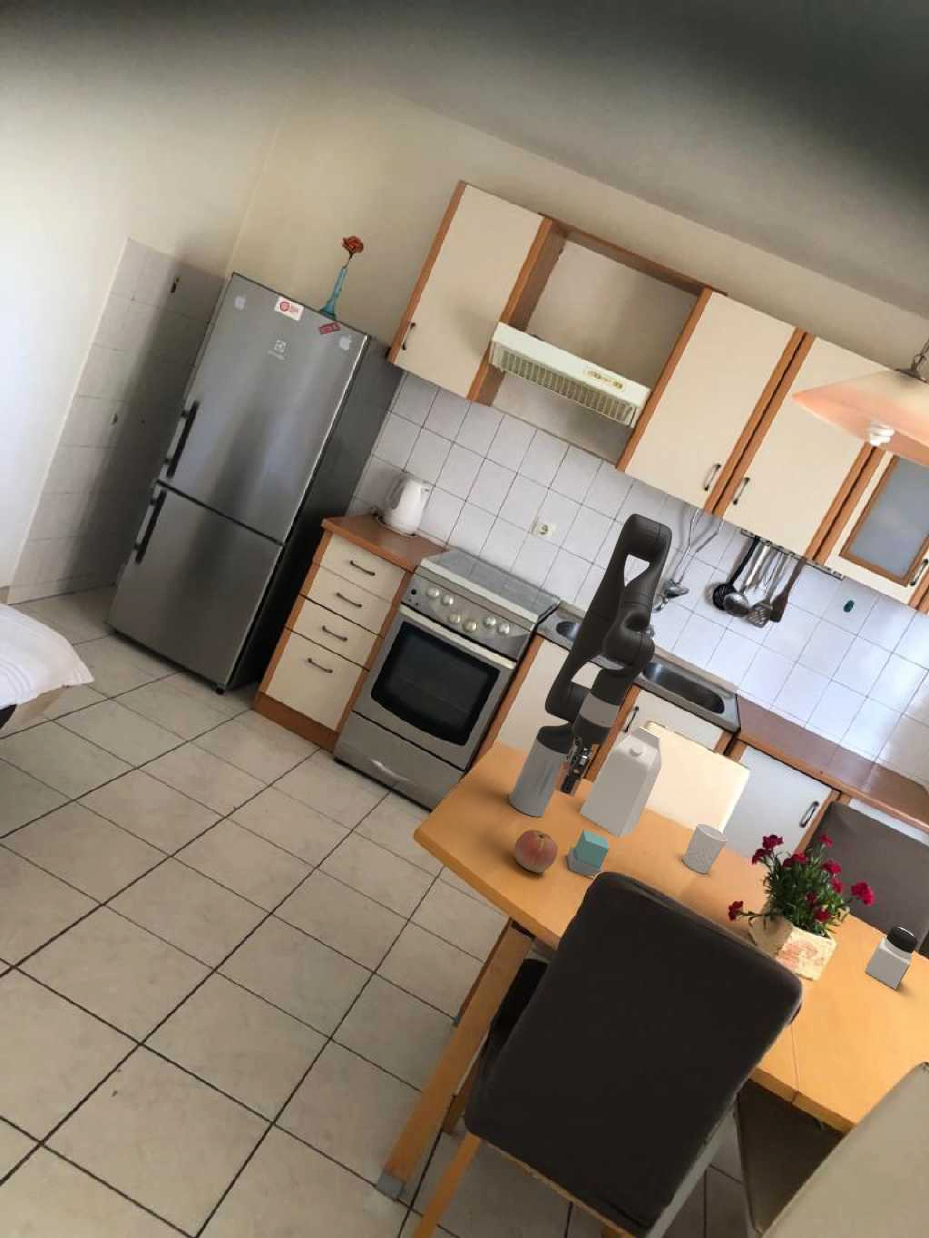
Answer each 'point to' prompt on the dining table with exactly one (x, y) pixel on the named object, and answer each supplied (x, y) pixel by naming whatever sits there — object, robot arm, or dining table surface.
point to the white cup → (704, 848)
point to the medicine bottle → (892, 957)
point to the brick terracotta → (561, 777)
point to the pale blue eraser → (581, 865)
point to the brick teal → (591, 849)
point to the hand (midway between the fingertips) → (564, 787)
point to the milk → (625, 783)
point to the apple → (535, 850)
